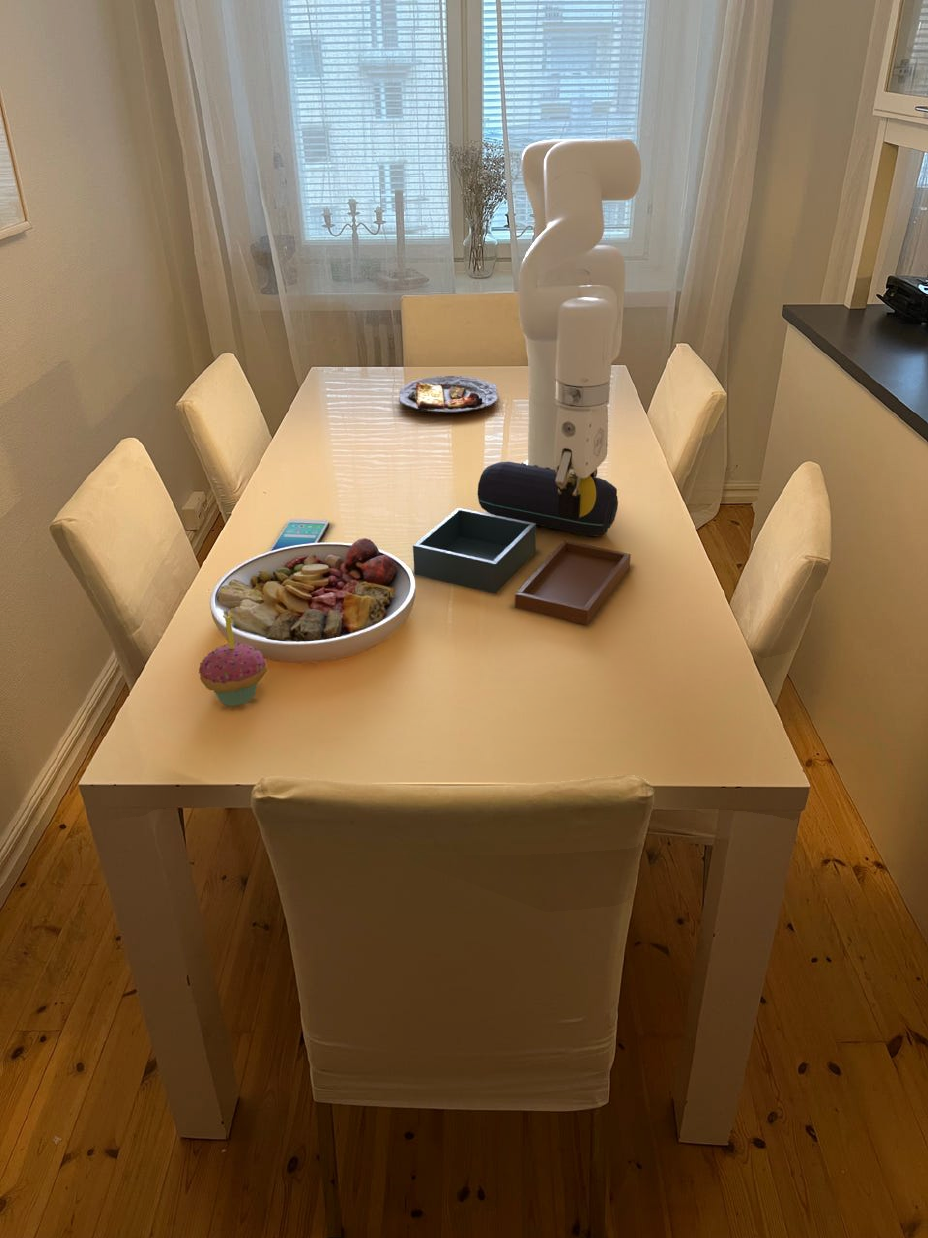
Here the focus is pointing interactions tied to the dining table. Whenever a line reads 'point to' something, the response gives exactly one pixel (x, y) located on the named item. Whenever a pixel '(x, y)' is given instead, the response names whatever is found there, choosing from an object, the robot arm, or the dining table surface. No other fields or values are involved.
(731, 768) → the dining table surface
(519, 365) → the dining table surface
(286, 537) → the smartphone
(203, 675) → the cupcake
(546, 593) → the tray
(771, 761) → the dining table surface
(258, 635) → the bowl
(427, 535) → the blue open storage box
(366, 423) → the dining table surface
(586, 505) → the lemon
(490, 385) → the food plate
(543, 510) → the portable speaker
